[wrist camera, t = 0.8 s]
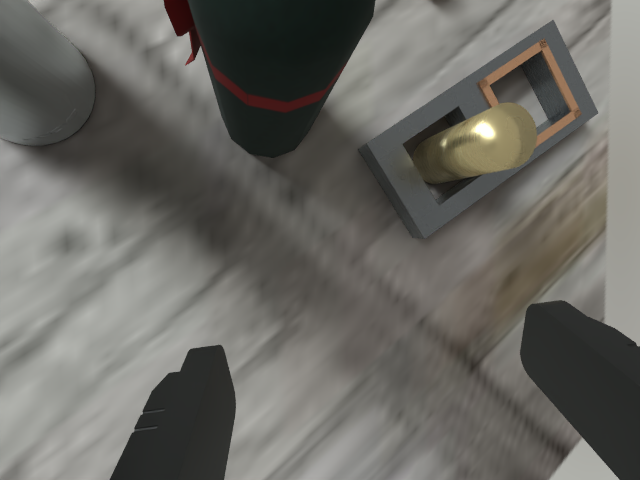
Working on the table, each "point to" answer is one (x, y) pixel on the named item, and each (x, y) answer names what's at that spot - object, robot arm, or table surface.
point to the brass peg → (478, 145)
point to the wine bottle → (271, 61)
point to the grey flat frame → (465, 102)
